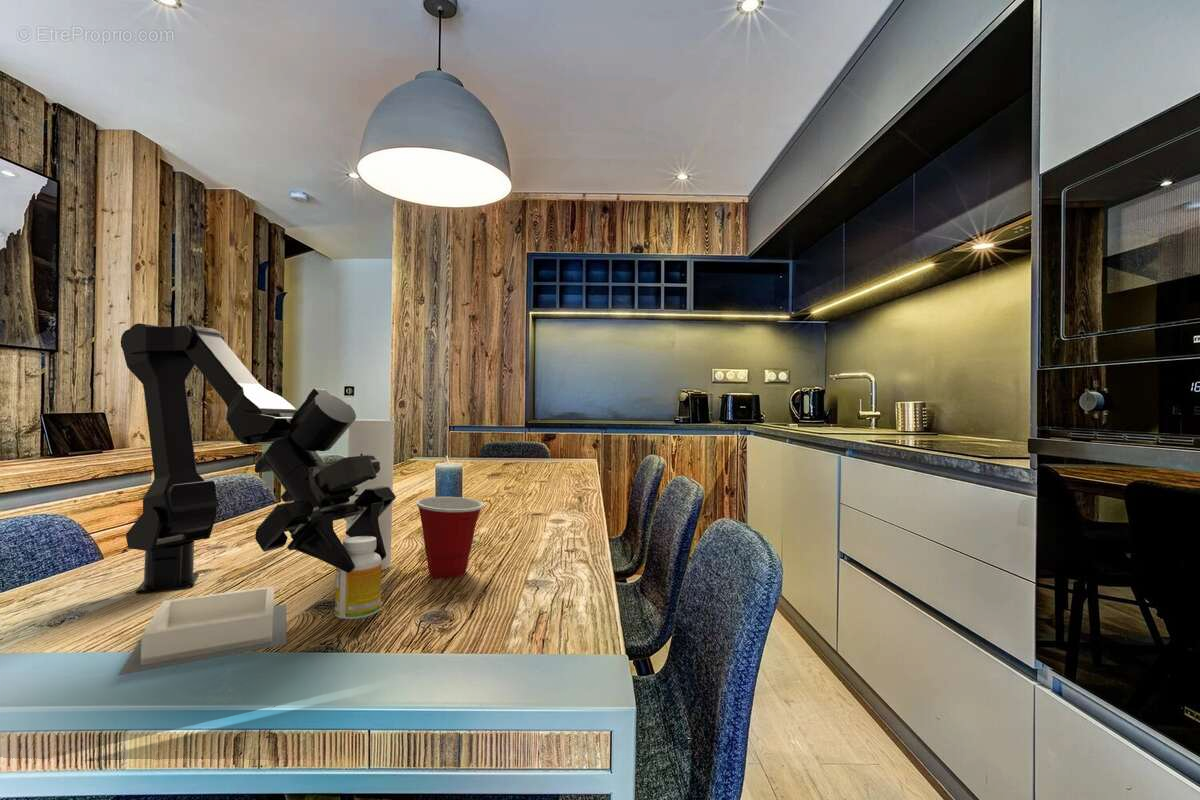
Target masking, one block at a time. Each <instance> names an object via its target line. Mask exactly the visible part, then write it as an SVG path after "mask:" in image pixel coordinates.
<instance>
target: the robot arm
mask: <svg viewBox="0 0 1200 800" xmlns="http://www.w3.org/2000/svg"><path fill="white" fill-rule="evenodd" d="M120 347H121V350H122V352H123V356H124V360H125V364H126V367H127V368H128V370H129V371H130V372H131V373H132V374H133V375H134V377H136V378H137V379H138V381H139V382H140V383H141V384H142V386H143V387H142V388H143V394H144V402H145V409H146V411H145V412H146V418H147V419H146V420H147V425H148V426H147V427H148V434H149V442H150V451H151V452H150V453H151V459H152V468H153V474H154V475H153V476H154V477H153V478H154V479H153V481H152V483H151V485H150V486H149V487H148V489H147V491H146V493H145V495H144V496H143V499H142V514H141V515H140V516H139V517H138V518H137V520H136V521H135V522H134V524H132V526H131V527H130V528H129V529H128V531H127V532H126V533H125V538H126V539H125V540H126V544H127V548H128V549H129V550H130V549H131V550H136V551H138V550H139V551H144V570H143V571H144V572H143V573H144V574H143V581H142V582H141V583H140V585H138V587H137V588H136V590H135V594H145V593H151V592H153V593H154V592H160V591H169V590H178V589H186V588H192V587H194V586H195V584H196V581H197V580H198V577H199V575H200V573H199V572H194V565H195V564H194V561H195V542H197V541H201V540H208V539H210V538H211V534H212V531H213V528H214V525H215V521H216V519H217V517H218V516H217V514H218V507H220V503H219V501H218V497H217V485H216V484H215V481H214V480H205V479H204V478H203V477H202V476H201V475H200V474H199V472H198V469H197V465H196V458H195V457H196V456H195V449H194V448H195V447H194V441H193V440H194V439H193V433H192V432H193V431H192V426H191V424H192V423H191V418H190V411H189V402H188V395H187V388H186V380H187V379H188V377H189V375H190V374H191V372H192V371H193V369H194V367H197V369H198V371H199V372H200V373H201V374H202V375H203V377H204V378H205V379H206V380H207V382H208V383H209V384H210V385H211V387H212V388H213V389H214V390H215V392H216V393H217V395H219V396H220V398H221V399H222V401H223V402H224V403H225V406H226V407H227V411H226V416H225V419H226V422H227V424H228V425H229V427H230V430H232V433H233V434H234V437H235V438H236V440H237V441H239V442H240V443H241V444H243V445H249V446H250V445H270V446H268V448H267V449H266V450H265V452H260V453H259V452H258V458H257V461H256V463H255V465H254V472H255V473H256V474H259V473H267V472H268V473H269V472H270V473H271V472H272V473H273V474H274V476H275V477H276V480H278V483H280V484H281V486H282V487H283V489H284V490H285V491H284V492H283V493H282V494H281V495H280V498H281V500H282V501H283V503H280V504H277V505H275V507H274V508H273V509H272V510H271V511H270V513H269V514H268V515H267V516H266V517H265V518H264V520H262V522H261V523H260V524H259V525H258V527H257V528H256V530H255V538H254V539H255V541H256V543H257V544H258V546H259V547H260V549H261V551H263V552H264V553H266V552H269V551H273V550H276V549H280V548H283V547H284V546H285V545H286V544H287V541H288V536H287V534H286V532H289V534H290V538H291V539H292V541H290V543H289V544H288V545H287V546H286V548H287V550H288V551H297V552H300V553H302V554H305V555H307V556H311V557H312V558H315V559H318V560H319V561H322V562H324V563H326V564H328V565H331V566H333V567H335V568H336V567H337V568H339V569H341V570H343V571H345V572H347V573H349V572H351V571H352V570H353V569H354V568H355V565H354V563H353V561H352V559H351V557H350V556H349V554H348V552H347V551H346V549H345V548H344V546H343V542H342V541H341V540H340V538H339V537H338V535H337V533H336V532H335V530H334V522H335V521H339V520H344V521H345V522H346V521H347V522H348V524H349V525H350V528H349V529H348V530H347V531H346V530H345V532H344V534H345V535H346V534H347V535H348V536H349V537H357V536H372V537H376V549H375V550H374V553H377V554H379V555H380V557H381V561H382V560H383V559H384V558H385V557H386V552H385V548H384V544H383V540H382V536H381V532H380V528H379V522H378V517H379V516H380V515H381V514H382V513H383V512H384V511H385V509H386V508H387V507H388V506H389V505H390V504H391V503H392V504H393V502H394V501H395V499H396V498H397V495H395V493H394V492H393V491H391V489H390V488H389V487H384V486H381V487H375V488H369V489H365V490H364V491H363V492H362V493H361V495H360V496H359V497H358V498H357V499H356V500H355V501H351V502H350V500H349V498H350V496H353V495H354V494H355V493H356V492H357V491H358V489H357V487H356V486H357V485H359V484H361V483H363V482H365V481H367V480H369V479H370V480H372V479H374V478H376V477H377V476H376V473H378V472H379V471H380V466H379V465H380V462H379V461H378V460H377V459H376V458H375V457H374V456H373V455H372V454H371V453H370V452H369V453H361V454H360V455H361V456H353V457H348V456H347V457H344V458H342V459H340V460H337V461H336V462H334V463H332V464H326V463H325V462H324V460H323V459H322V458H321V457H320V455H319V454H318V453H317V452H326V451H329V450H331V449H332V448H333V446H334V445H335V444H336V443H337V442H339V441H338V440H340V438H341V437H342V436H343V435H344V434H345V433H346V431H347V430H349V427H350V425H351V424H352V423H353V422H354V421H355V420H357V419H356V418H357V414H356V412H355V410H354V409H353V407H352V406H351V405H350V404H347V403H346V402H345V401H343V400H342V399H340V398H339V397H337V396H335V395H332V394H330V392H329V391H327V389H324V388H322V389H321V388H313V389H312V390H311V391H310V393H309V394H308V395H307V397H306V399H305V401H304V402H303V403H302V404H300V406H299V408H298V409H297V408H295V407H294V406H293V405H292V404H291V403H290V402H288V401H287V400H286V399H284V397H282V396H280V395H279V394H276V393H275V392H273V391H270V390H268V389H266V388H265V387H263V385H261V384H260V383H259V381H258V380H257V379H256V378H255V377H254V375H253V374H252V373H251V372H250V371H249V369H248V368H247V367H246V366H245V364H244V363H243V362H242V360H240V359H239V357H238V356H237V355H236V354H235V352H234V351H233V350H232V349H231V348H230V346H228V344H227V343H226V341H225V338H224V335H223V332H222V333H221V332H220V331H219V330H217V329H215V328H211V327H205V326H198V325H191V324H185V325H178V326H161V325H153V324H146V323H141V322H140V323H139V322H138V323H135V324H133V325H131V327H130V328H129V329H125V331H124V332H123V333H122V334H121V336H120Z"/></svg>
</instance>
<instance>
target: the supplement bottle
mask: <svg viewBox="0 0 1200 800" xmlns="http://www.w3.org/2000/svg"><path fill="white" fill-rule="evenodd" d="M342 544H343V546H344V548H345V549H346V551H347V552H348V554H349V556H350V557H351V559H352V561H353V563H354V565H355V568H354V569H353V570H352V571H351V572H349V573H347V572H345V571H343V570H341V569H339V568H337V567H335V593H334V594H335V598H334V614H335V615H334V616H335V617H337V618H338V619H343V620H344V619H345V620H347V619H349V620H351V619H352V620H353V619H354V620H355V619H360V618H365V617H366V618H367V617H369V616H372V615H375V614H376V613H378V612H380V610H381V600H382V595H381V593H382V569H381V566H382V562H381V557H380V555H379V554H377V553H374V550H375V549H376V537H372V536H357V537H351V538H347V539H346V538H345V539H343V540H342Z"/></svg>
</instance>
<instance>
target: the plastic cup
mask: <svg viewBox="0 0 1200 800" xmlns="http://www.w3.org/2000/svg"><path fill="white" fill-rule="evenodd" d="M416 506H417V507H418V510H419V515H420V522H421V526H422V534H423V535H422V536H423V543H424V551H425V552H424V553H425V556H426V561H427V569H428V572H429V577H431V578H434V579H454V578H459V577H461V576H464V575H465V574H466V572H467V569H468V564H469V558H470V553H471V550H472V545H473V540H474V535H475V530H476V524H477V522H478V518H479V516H480V513H481V510H482V509H483V508H484V507H485V504H484V502H482V501H479V500H477V499H473V498H467V497H458V496H430V497H429V496H428V497H423V498H420V499H418V500H416Z"/></svg>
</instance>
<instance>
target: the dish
mask: <svg viewBox="0 0 1200 800" xmlns="http://www.w3.org/2000/svg"><path fill="white" fill-rule="evenodd" d="M274 606H275V586H274V585H273V586H264V587H256V588H250V589H242V590H235V591H226V592H221V593H220V592H218V593H212V594H205V595H204V594H203V595H197V596H189V597H182V598H174V599H166V600H163V601H162V602H161V604H160V606H159V607H158V609H157V610H156V612H155V613H154V615H153V616H152V618H151V620H150V621H149V622H148V625H147V626H146V628H145V629H144V631H143V632H142V634H141V638H142V640H141V665H144V664H150V663H156V662H161V661H167V660H172V659H178V658H184V657H189V656H195V655H201V654H206V653H212V652H217V651H223V650H229V649H234V648H240V647H245V646H251V645H257V644H262V643H268V642H272V631H273V611H274Z"/></svg>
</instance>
